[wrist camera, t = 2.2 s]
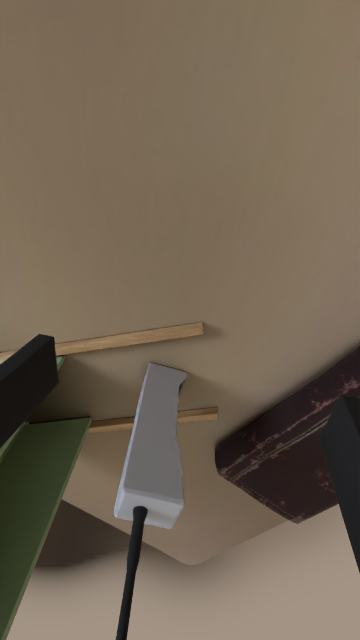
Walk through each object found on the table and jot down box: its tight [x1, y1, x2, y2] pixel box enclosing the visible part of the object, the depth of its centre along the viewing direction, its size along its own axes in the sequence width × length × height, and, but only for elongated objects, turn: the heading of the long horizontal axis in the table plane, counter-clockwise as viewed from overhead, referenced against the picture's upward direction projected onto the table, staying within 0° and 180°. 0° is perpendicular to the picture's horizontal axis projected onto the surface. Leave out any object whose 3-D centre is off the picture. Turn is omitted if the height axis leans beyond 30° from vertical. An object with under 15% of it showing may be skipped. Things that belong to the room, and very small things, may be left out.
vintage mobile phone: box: [114, 363, 187, 640], centre depth 27 cm, size 4×5×25 cm
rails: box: [0, 322, 218, 433], centre depth 38 cm, size 14×30×1 cm, turn 101°
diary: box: [215, 349, 360, 524], centre depth 39 cm, size 19×25×5 cm
